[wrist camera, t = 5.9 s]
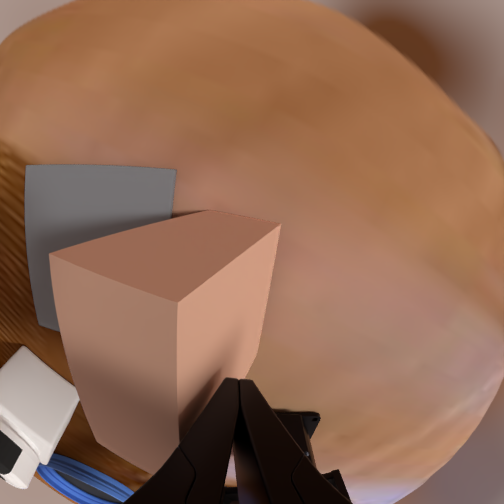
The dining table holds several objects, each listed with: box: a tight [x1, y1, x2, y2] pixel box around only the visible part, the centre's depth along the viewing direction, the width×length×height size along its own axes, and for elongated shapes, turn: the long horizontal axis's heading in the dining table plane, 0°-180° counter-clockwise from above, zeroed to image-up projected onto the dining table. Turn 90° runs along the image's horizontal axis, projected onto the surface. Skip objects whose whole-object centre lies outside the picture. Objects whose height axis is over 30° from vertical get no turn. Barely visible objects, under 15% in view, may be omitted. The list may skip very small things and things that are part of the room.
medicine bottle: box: [0, 346, 80, 489], centre depth 13 cm, size 7×7×12 cm
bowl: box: [36, 453, 134, 504], centre depth 24 cm, size 18×18×4 cm
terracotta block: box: [49, 210, 281, 475], centre depth 11 cm, size 8×4×10 cm, turn 172°
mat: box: [25, 164, 177, 332], centre depth 15 cm, size 12×11×1 cm
